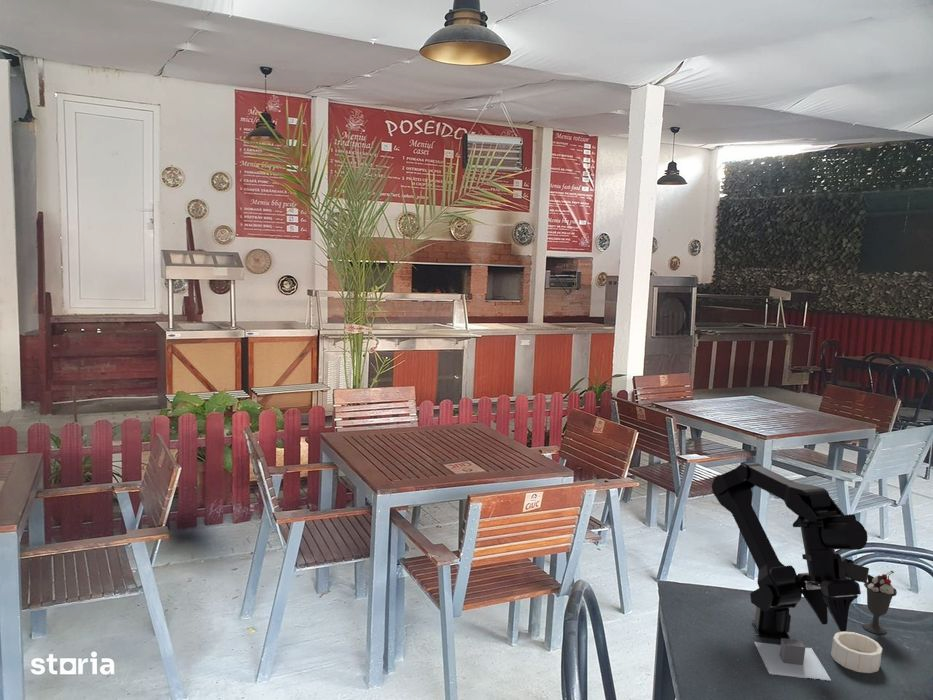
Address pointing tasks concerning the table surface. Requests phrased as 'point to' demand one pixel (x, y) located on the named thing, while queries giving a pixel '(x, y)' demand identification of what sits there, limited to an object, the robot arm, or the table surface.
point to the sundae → (878, 600)
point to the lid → (791, 660)
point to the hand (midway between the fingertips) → (833, 627)
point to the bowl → (856, 652)
